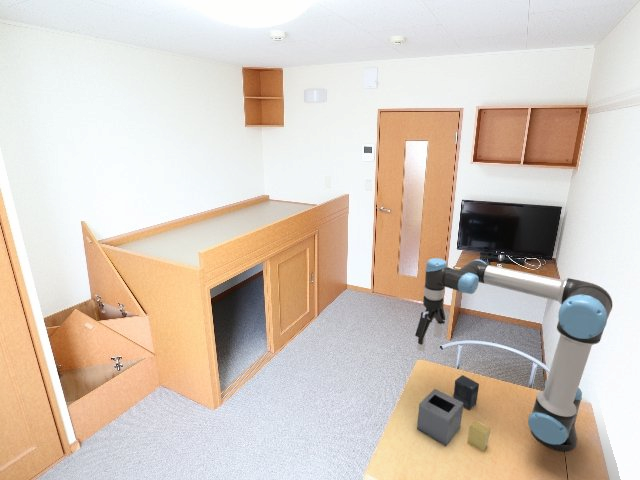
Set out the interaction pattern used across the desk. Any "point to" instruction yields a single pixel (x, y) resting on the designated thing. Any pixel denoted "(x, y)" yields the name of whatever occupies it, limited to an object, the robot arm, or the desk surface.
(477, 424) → the yellow rectangular block
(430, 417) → the gray slotted cube
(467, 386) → the box
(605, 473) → the desk surface
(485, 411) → the desk surface
